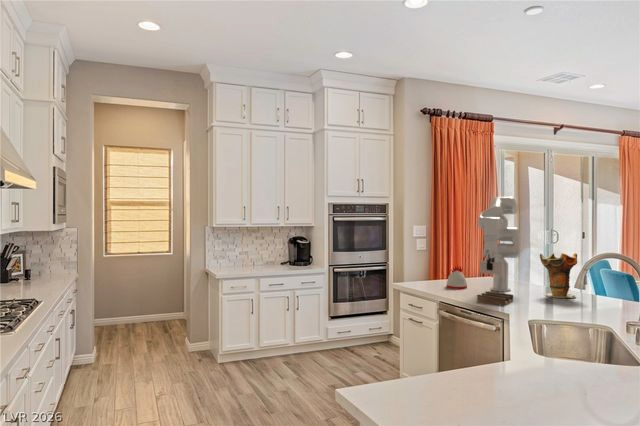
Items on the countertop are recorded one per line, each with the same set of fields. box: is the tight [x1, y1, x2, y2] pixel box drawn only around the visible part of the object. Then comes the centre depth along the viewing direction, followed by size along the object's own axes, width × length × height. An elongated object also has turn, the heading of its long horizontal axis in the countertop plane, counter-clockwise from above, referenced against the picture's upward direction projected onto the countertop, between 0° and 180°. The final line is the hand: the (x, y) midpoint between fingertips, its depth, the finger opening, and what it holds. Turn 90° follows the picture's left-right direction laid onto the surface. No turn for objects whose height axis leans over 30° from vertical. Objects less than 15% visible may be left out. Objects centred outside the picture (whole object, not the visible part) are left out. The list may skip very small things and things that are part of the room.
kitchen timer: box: [446, 265, 468, 290], centre depth 316 cm, size 14×14×15 cm
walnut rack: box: [476, 291, 514, 306], centre depth 267 cm, size 15×16×4 cm
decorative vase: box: [539, 252, 578, 299], centre depth 285 cm, size 21×23×28 cm
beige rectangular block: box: [479, 260, 502, 275], centre depth 266 cm, size 3×12×7 cm, turn 49°
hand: (490, 269), depth 266 cm, fingers closed on beige rectangular block, 2 cm apart
